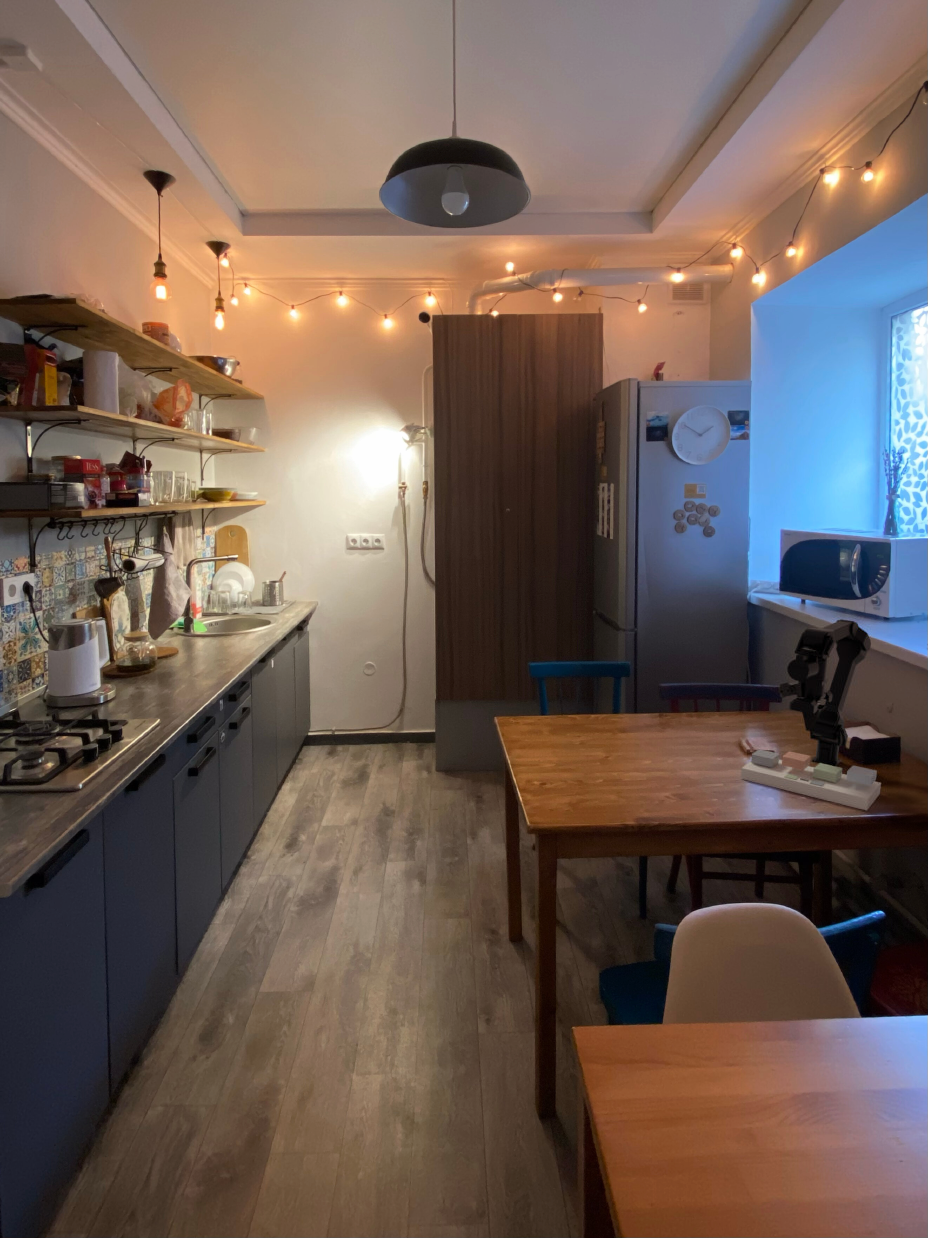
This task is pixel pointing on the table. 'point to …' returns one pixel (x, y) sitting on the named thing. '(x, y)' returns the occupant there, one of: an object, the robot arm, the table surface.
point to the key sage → (827, 772)
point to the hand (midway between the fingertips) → (808, 730)
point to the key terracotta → (796, 760)
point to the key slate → (765, 758)
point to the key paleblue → (861, 775)
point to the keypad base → (812, 784)
